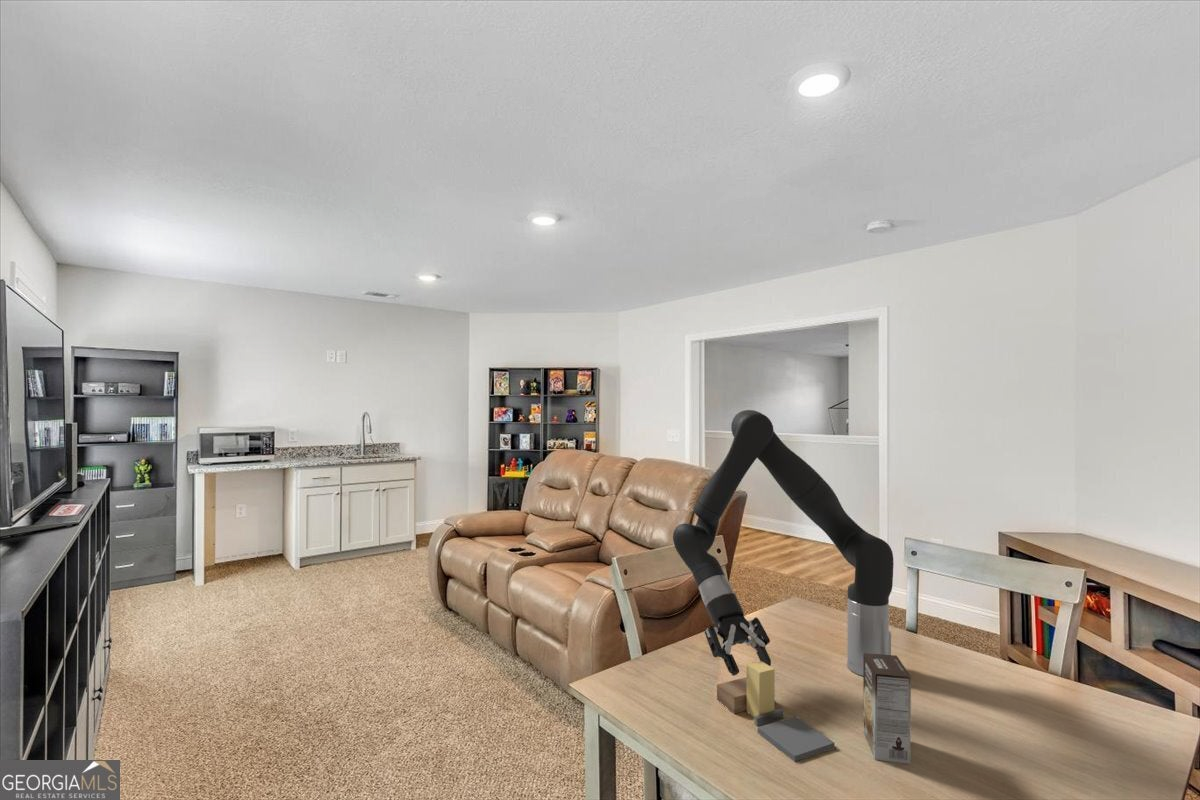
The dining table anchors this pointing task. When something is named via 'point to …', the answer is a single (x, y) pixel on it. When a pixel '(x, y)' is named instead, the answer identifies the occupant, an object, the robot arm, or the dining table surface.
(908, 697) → the coffee box
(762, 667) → the pale yellow rectangular prism
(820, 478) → the robot arm
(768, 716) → the block
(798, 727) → the mat
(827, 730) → the dining table surface
